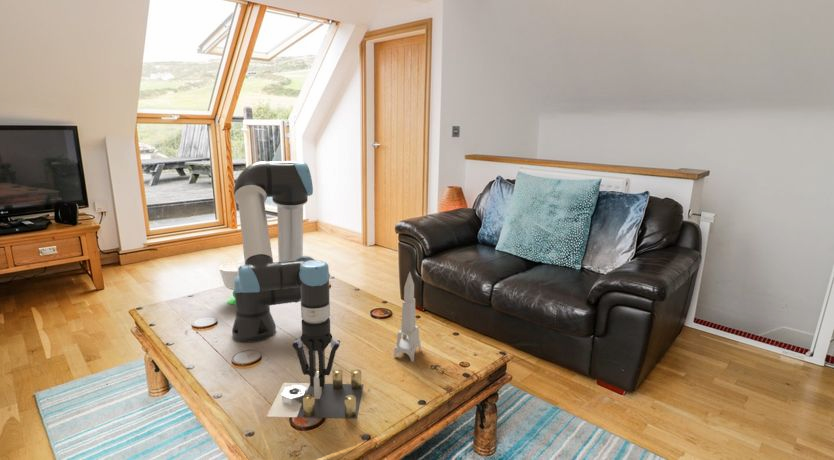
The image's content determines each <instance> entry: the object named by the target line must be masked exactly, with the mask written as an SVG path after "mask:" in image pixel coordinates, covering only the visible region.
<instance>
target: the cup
mask: <svg viewBox="0 0 834 460" xmlns="http://www.w3.org/2000/svg"><path fill="white" fill-rule="evenodd" d="M243 265H245V261H241V260H240V261H232V262H225V263H223V264H221V265H220V266H219V268H218V270H219V272H220V275H221V278H222V282H223V285H224V287H225V288H226V289H228V290H232V296H233V297H232V298H231V297H230V298H229V299H228V300H227V303H228V305H230V306H231V305H232V306H236V304H235V292H234V281H235V278H236V277H237V276H238V275H239V274H238V268H239V267H240V266H243Z"/></svg>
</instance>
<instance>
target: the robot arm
mask: <svg viewBox="0 0 834 460" xmlns="http://www.w3.org/2000/svg"><path fill="white" fill-rule="evenodd" d="M239 173H240V174H239V175H238V176H237V178H236V180H235V183H234V187H233V197H234V201H235V202H236V204H238V212H239V221H240V222H239V224H240V232H241V238H242V239H241V241H242V250H243V260H244V261H243V262H245V265H243V266H240V267H239V268H238V274H239V275H238V276H237V277H236V278H235V281H234V290H233V291H234V292H235V304H236V305H235V319H234V322H233V325H232V329H231V330H232V331H231V332H232V333H231V334H232V335H231V336H232V338H233V339H234V340H235V341H237V342H242V343H257V342H261V341H265V340H267V339H270V338H271V337H273V336H274V335H275V334H276V331H277V329H276V326H277V325H276V323H275V320H274V318H273V315H272V313H271V309H270V306H276V305H281V304H283V305H285V304H292V303H295V304H296V303H299V302H300V313H301V314H300V315H301V335H300V338H298V339H297V338H295V340H294V341H293V342H292V344H291V345H292V346H291V347H293V348H294V350H295V352H296V355H297V358H298V361H299V365H300V367H301V371H302V374H303V375H304V376H306V375H308V376H309V382H310V385H311V387H314V396H315V399H320V397H321V394H322V387H323V386H324V384H326V376H330V375H331V373H332V372H331V371H332V368H333V365H334V360H335V356H336V352H337V350H338V348H339V347H340V344H341V341H340V339H338V340H336V339H334V338H333V335H332V333H331V317H330V316H331V305H330V304H331V302H330V278H331V275H330V271H329V264H328V263H327V262H326V261H322V260H318V259H317V260H315V259H314V258H313V257H311V256H308V255H304V205H305V204H307V202H308V197H310V196H312V195H313V192H314V188H313V187H314V185H313V180H312V175H311V170H310V167H309V166H308V163H306V162H305V161H299V160H297V161H296V160H284V161H283V160H279V161H278V160H277V161H264V160H263V161H262V160H261V161H256V162H253V163H251V164H248V166H247V167H245V168H244V169H242V171H241V172H239ZM267 198H272V202H273V203H274V204H275V205H276V208H277V247H278V249H277V253H278V254H277V255H278V256H277V257H278V261H277V262H274V258H273V251H272V246H271V239H270V232H269V231H270V230H269V224H268V218H267V213H266V212H267V211H266V203H265V202H266V200H267ZM329 344H330V348H331V349H330V352H329V357H328V362H327V366H326V356H325V355H326V354H325V353H326V352H325V351H326V349H327V347H328V346H329ZM303 345H304V346H305V348H307V350H308V352H307V353H308V359H307V356H306V352H305V348H304V346H303ZM316 351H317V355H318V369H319V373H315V372H316V369H317V367H316V366H317V364H316V359H317V358H316Z"/></svg>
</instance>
